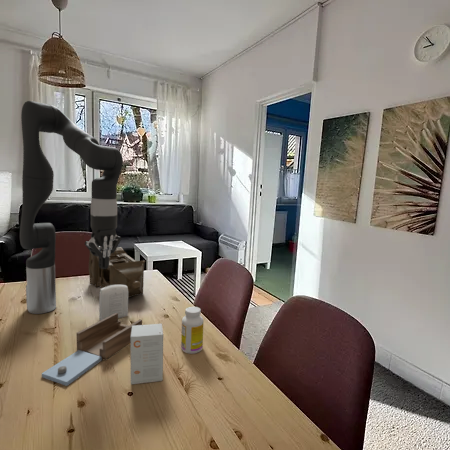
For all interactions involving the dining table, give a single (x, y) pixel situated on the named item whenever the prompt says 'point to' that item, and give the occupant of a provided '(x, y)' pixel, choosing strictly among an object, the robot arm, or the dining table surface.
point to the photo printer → (113, 301)
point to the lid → (71, 367)
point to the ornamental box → (118, 272)
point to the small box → (146, 353)
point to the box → (105, 337)
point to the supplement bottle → (192, 331)
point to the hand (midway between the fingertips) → (103, 268)
